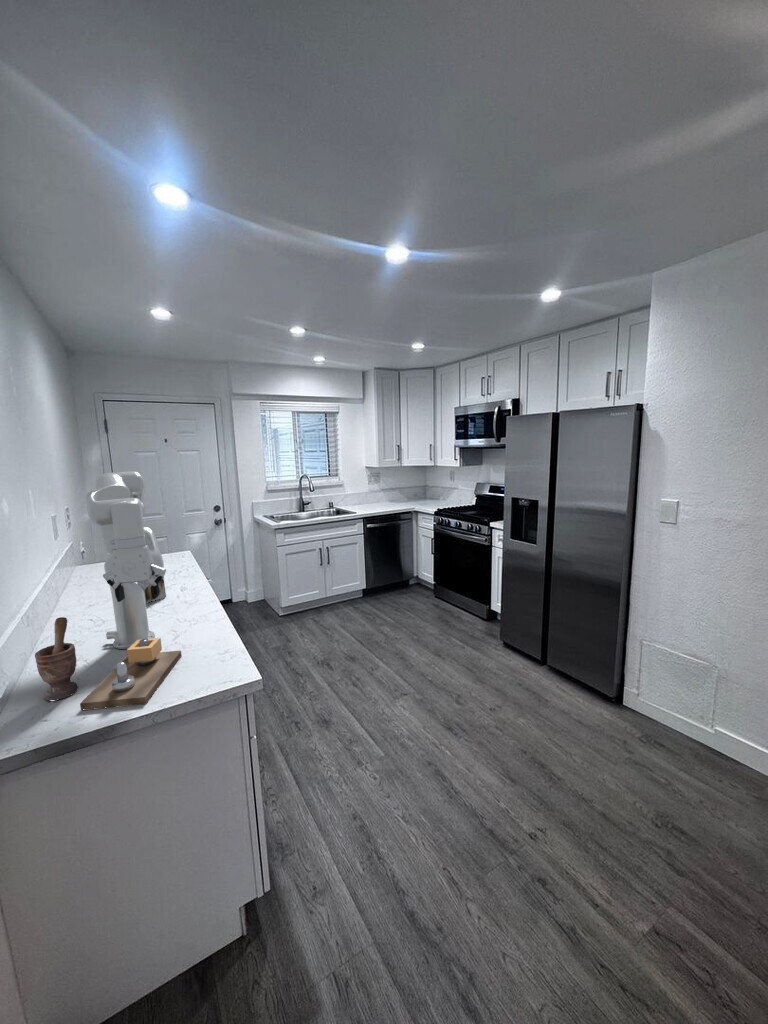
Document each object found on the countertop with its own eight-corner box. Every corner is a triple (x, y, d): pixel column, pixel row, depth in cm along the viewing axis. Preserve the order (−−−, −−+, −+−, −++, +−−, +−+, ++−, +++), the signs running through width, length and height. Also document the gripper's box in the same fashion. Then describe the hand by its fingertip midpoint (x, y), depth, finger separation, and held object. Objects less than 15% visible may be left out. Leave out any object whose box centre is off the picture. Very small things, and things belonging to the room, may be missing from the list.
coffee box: (159, 595, 197) (155, 561, 195) (166, 597, 194) (162, 563, 191) (139, 601, 190) (134, 566, 188) (146, 604, 186) (141, 568, 184)
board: (81, 710, 109) (79, 703, 109) (129, 661, 135) (128, 655, 134) (146, 704, 111) (145, 696, 110) (181, 656, 136) (180, 650, 136)
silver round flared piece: (109, 693, 113) (105, 668, 112) (118, 683, 118) (115, 659, 117) (129, 691, 113) (126, 666, 112) (138, 681, 118) (135, 657, 117)
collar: (128, 662, 125) (126, 649, 125) (139, 651, 132) (137, 639, 131) (152, 660, 126) (151, 647, 125) (161, 649, 133) (160, 637, 132)
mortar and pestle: (43, 688, 121) (31, 622, 118) (79, 677, 126) (69, 613, 123) (42, 706, 112) (29, 635, 109) (82, 693, 117) (71, 625, 114)
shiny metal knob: (133, 667, 126) (130, 645, 125) (141, 658, 132) (138, 637, 131) (151, 665, 127) (148, 643, 126) (159, 657, 132) (156, 636, 131)
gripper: (92, 548, 119) (100, 606, 122) (156, 543, 121) (163, 600, 123) (106, 542, 126) (114, 597, 129) (166, 538, 128) (173, 592, 131)
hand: (138, 598), depth 126 cm, fingers open, 9 cm apart
